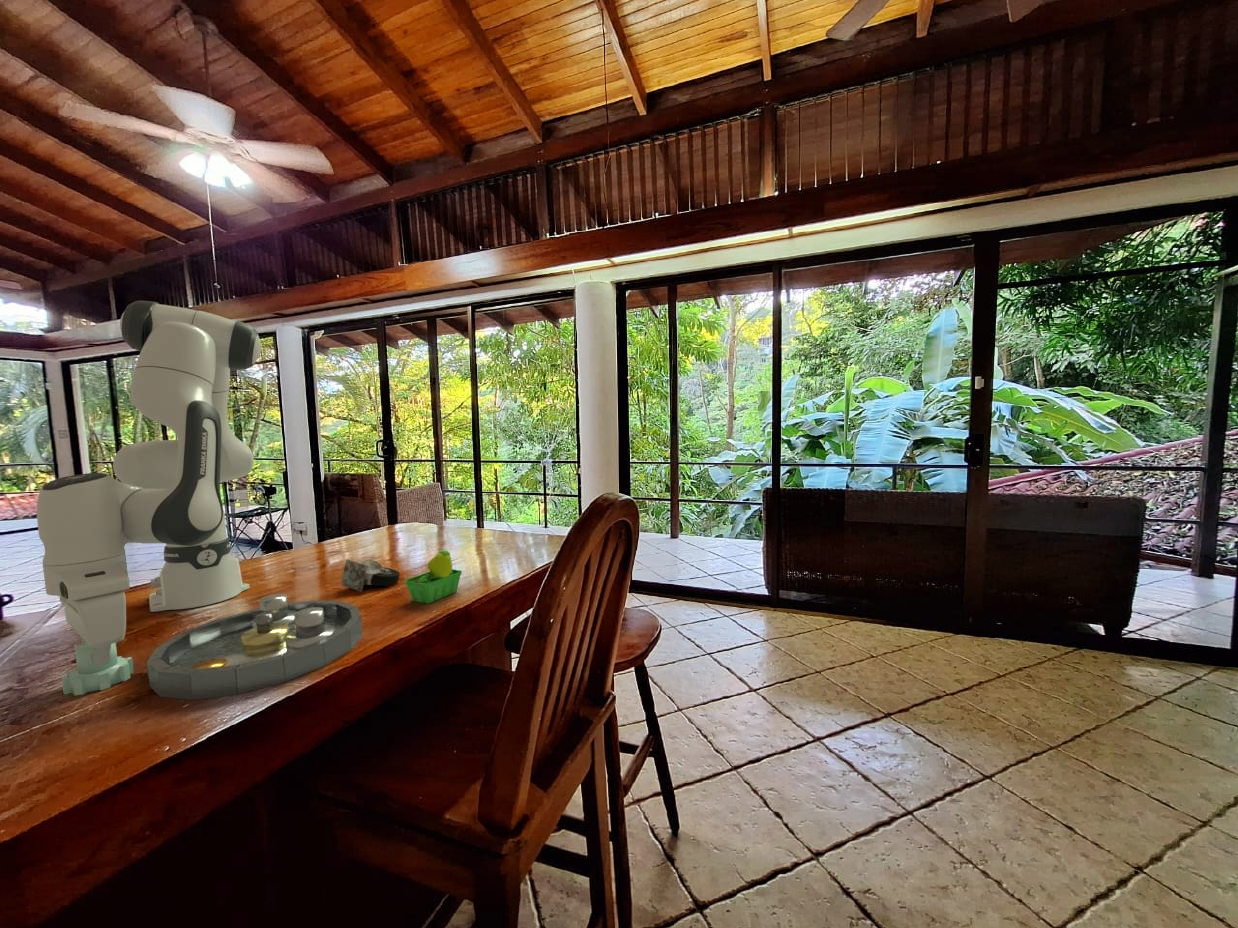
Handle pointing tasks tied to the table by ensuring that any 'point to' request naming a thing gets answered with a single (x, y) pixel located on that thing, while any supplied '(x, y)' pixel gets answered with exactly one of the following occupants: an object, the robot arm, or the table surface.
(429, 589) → the fruit basket
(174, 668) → the tray
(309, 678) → the table surface
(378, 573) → the caster wheel
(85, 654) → the planet gear
